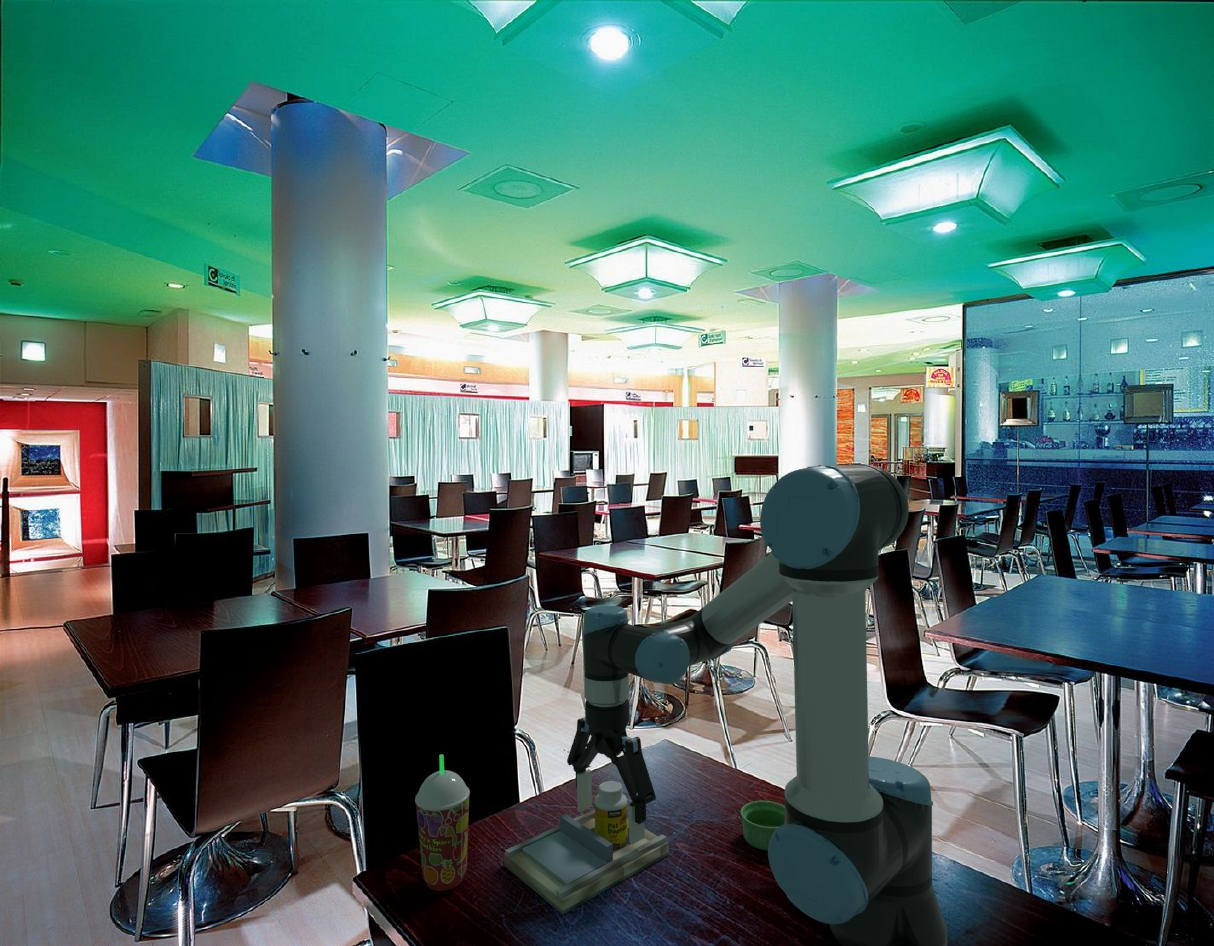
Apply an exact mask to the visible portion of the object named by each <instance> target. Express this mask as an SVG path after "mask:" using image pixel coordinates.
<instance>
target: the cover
mask: <svg viewBox="0 0 1214 946" xmlns="http://www.w3.org/2000/svg"><path fill="white" fill-rule="evenodd" d="M574 819H575V818H573V817H571V816H570V815H569V814H567V813H565V814H564V813H563V814H562V815H560V816H559V825H560V831H559V832H556V833H554V834H552V835H550V836H548V837H546V838H543V839H541V840H539V841H537V842H535V843H533V844H531V845H528V846H526V847H524V848H522V853H524V854H525V855H526V856H527V857H529V858H530V859H531V860H533V861H534V862H535V863H537V864H538V865H539V866H540V867H542V868H543V869H544V870H546V871H547V872H548V873H550V874H551V875H552V876H553V877H555V878H556V879H557V880H559V881H560V882H561V883H562V884H564V885H565V886H566V885H568V884H570V883H572V882H574V881H575V880H577V879H579V878H581V877H583V876H585V875H587V874H589V873H591V872H592V871H594V870H596V869H598V868H600V867H602V866H604V865H606V864H607V863H609V862H611V861H613V844H612V843H610V842H609V841H607V840H606V839H604V838H603V837H601V836H599V835H598V834H596V833H595V832H593V831H592V830H590V829H589V828H587V827H585V826H584V825H582V824H581V823H579V822H578V821H576V820H574Z"/></svg>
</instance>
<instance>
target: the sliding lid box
mask: <svg viewBox="0 0 1214 946" xmlns="http://www.w3.org/2000/svg"><path fill="white" fill-rule="evenodd" d="M573 819H574V820H576V821H578V822H579V823H581V824H582V825H584V826H585V827H587V828H589V829H590V830H592V831H593V832H595V808H593V809H592V810H589V811H588V812H586V813H584V814H582V815H579V816H577V817H574V818H573ZM627 830H628V843H627V846H626V847H624V848H622V849H620V850H618V851H617V852H615V853H613V861H611V862H609V863H607V864H606V865H604V866H602V867H600V868H598V869H596V870H594V871H592V872H591V873H589V874H587V875H585V876H583V877H581V878H579V879H577V880H575V881H574V882H572V883H570V884H568V885H566V886H565V885H564V884H562V883H561V882H560V881H559V880H557V879H556V878H555V877H553V876H552V875H551V874H550V873H548V872H547V871H546V870H544V869H543V868H542V867H540V866H539V865H538V864H537V863H535V862H534V861H533V860H531V859H530V858H529V857H527V856H526V855H525V854H524V853H522V848H524V847H526V846H528V845H531V844H533V843H535V842H537V841H539V840H541V839H543V838H546V837H548V836H550V835H552V834H554V833H556V832H559V831H560V824H559V825H557V826H555V827H553V828H551V829H548V830H546V831H544V832H542V833H539V834H538V835H536V836H534V837H531V838H529V839H527V840H525V841H523V842H520V843H518V844H515V845H513V846H511V847H509V848H507V849H505V852H504V853H503V866H504V867H505V868H507V870H509V871H510V872H511V873H513V875H514V876H516V877H517V878H518V879H520V880H521V881H522V882H523V883H525V885H527V887H529V888H530V889H532V890H533V891H534V892H536V894H537V895H539V896H540V897H541V898H543V899H544V900H545V901H546V902H547V903H548V904H549V905H551V906H552V907H553V908H554V909H556V910H557V911H558V912H559V913H560V914H562V915H565V914H566V913H568V912H570V911H571V910H574V909H575V908H577V907H579V906H581V905H582V904H584V903H586V902H588V901H590V900H591V899H593V898H594V897H596V896H598V895H600V894H602V893H604V892H606V891H607V890H609V889H610V888H612V887H614V886H616V885H618V884H619V883H621V882H623V881H625V880H627V879H628V878H630V877H631V876H633V875H636V874H637V873H639V872H641V871H643V870H644V869H646V868H648V867H650V866H652V865H653V864H655V863H657V862H658V861H660V860H662V859H664V858H665V857H667V856H669V855H670V847H669V846H670V843H669V842H668V841H667V836H666V835H664V834H660V835H656V834H654V832H651V831H649V830H648V829H646V828H644V831H645V838H644V839H642V840H640V841H638V842H636V843H634V844H631V843H629V818H627Z"/></svg>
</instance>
